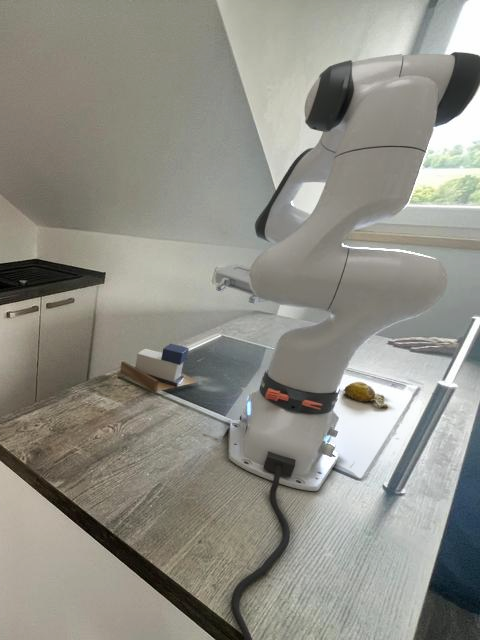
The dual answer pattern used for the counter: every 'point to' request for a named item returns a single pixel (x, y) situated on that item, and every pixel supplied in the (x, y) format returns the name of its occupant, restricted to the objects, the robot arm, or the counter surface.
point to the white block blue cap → (163, 363)
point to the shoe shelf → (150, 378)
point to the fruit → (364, 393)
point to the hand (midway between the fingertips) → (234, 294)
